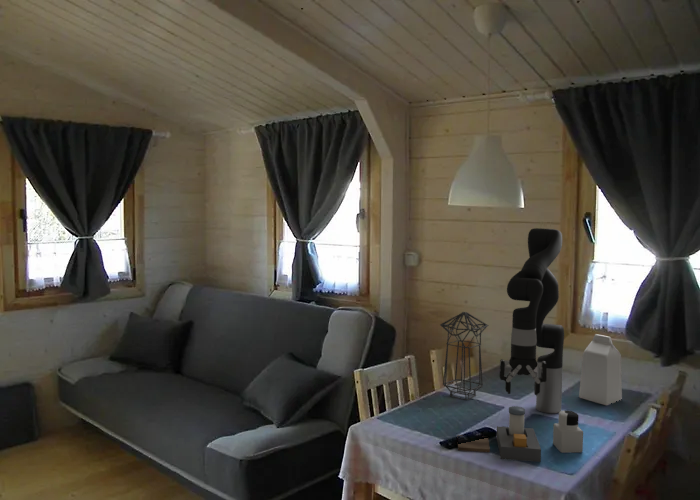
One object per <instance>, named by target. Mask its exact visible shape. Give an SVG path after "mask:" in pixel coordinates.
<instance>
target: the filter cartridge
mask: <svg viewBox="0 0 700 500" xmlns="http://www.w3.org/2000/svg"><path fill="white" fill-rule="evenodd" d="M508 414H509V415H508V416H509V417H508V427H509V436H513V434H524V428H525V414H526V409H525V408H524V407H522V406H517V405H516V406H515V405H512V406H510V407H508Z"/></svg>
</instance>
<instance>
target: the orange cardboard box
mask: <svg viewBox="0 0 700 500" xmlns="http://www.w3.org/2000/svg"><path fill="white" fill-rule="evenodd" d="M513 446H514V447H527V438H526V435H525V434H513Z"/></svg>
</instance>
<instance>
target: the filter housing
mask: <svg viewBox="0 0 700 500" xmlns="http://www.w3.org/2000/svg"><path fill="white" fill-rule="evenodd" d="M524 434H525V435H526V438H527V447H514V446H513V436H509V426H499V425H497V426H496V434H495V436H496V441H497V448H498V451H499V452H498V453H499V457H500V460H507V461H508V460H510V461H522V462H523V461H525V462H539V463H541V462H542V449H541V445H540V442H539V440H538V437H537V435H536V432H535V430H534V428H533V427H532V428H531V427H530V428H529V427H524Z"/></svg>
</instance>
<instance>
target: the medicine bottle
mask: <svg viewBox="0 0 700 500" xmlns="http://www.w3.org/2000/svg"><path fill="white" fill-rule="evenodd" d="M552 429H553V431H552V444H553V445H554V447H555V448H556V449H557V450H558V451H559V452H560V453H563V454H564V453H565V454H566V453H571V454H572V453H574V454H575V453H583V451H584V450H583V449H584V431H583V430H582V429H581V428H580V427H579V414H578V413H577V412H575V411H572V410H561V412H559V413H558V422H556V423H553V428H552Z"/></svg>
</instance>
